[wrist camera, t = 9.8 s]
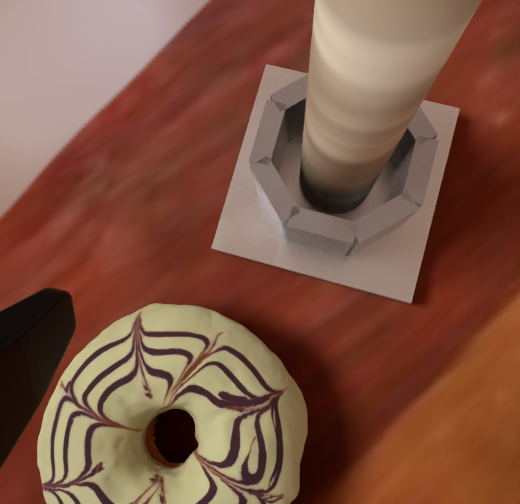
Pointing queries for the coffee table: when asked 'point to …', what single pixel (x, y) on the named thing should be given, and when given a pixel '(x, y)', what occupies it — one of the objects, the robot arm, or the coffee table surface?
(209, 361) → the decorated donut
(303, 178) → the wooden post
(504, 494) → the coffee table surface
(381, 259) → the cup bracket
